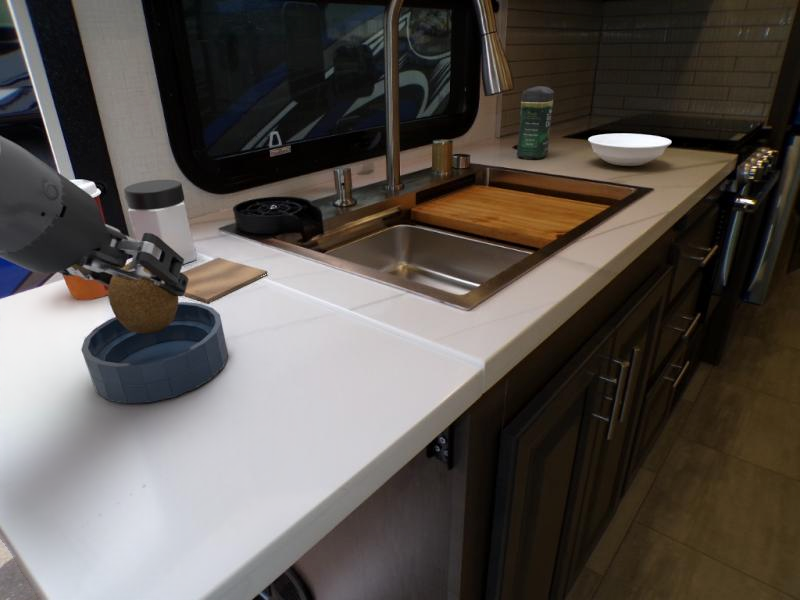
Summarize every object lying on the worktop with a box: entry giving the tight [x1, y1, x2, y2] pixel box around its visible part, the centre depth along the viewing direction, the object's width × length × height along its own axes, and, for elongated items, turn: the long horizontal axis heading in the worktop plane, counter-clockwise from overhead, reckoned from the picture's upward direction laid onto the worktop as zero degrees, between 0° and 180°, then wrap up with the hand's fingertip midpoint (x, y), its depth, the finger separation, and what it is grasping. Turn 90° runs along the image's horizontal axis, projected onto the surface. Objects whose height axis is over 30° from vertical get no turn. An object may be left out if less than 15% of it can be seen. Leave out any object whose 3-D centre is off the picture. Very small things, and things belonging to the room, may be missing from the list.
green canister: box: [516, 85, 555, 160], centre depth 145 cm, size 10×8×19 cm
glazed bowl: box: [80, 301, 229, 404], centre depth 55 cm, size 13×13×4 cm
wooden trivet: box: [181, 257, 269, 304], centre depth 76 cm, size 11×11×1 cm
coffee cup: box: [62, 179, 109, 301], centre depth 71 cm, size 8×8×15 cm
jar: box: [123, 179, 197, 265], centre depth 82 cm, size 9×8×12 cm
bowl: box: [587, 133, 672, 167], centre depth 135 cm, size 20×20×6 cm
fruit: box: [107, 260, 179, 334], centre depth 52 cm, size 6×6×8 cm
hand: (153, 284), depth 53 cm, fingers closed on fruit, 6 cm apart
